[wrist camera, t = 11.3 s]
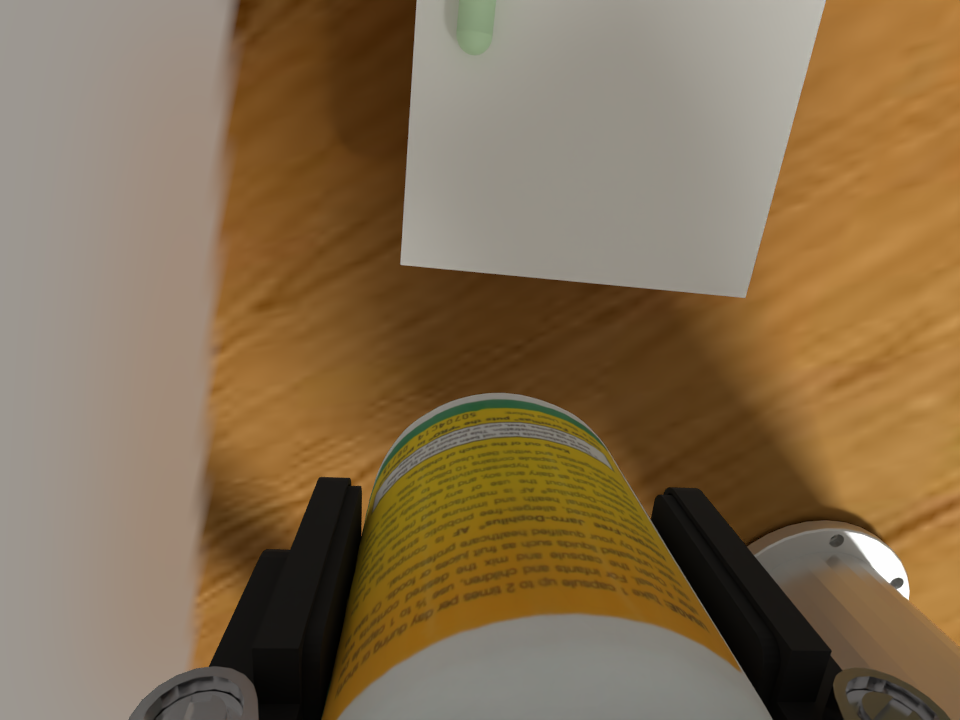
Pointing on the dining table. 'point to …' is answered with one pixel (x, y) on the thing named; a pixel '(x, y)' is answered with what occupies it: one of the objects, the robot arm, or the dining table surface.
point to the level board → (601, 137)
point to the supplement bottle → (521, 584)
